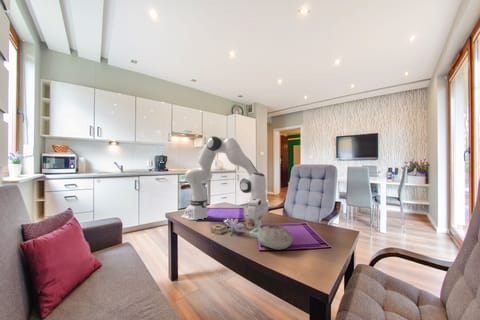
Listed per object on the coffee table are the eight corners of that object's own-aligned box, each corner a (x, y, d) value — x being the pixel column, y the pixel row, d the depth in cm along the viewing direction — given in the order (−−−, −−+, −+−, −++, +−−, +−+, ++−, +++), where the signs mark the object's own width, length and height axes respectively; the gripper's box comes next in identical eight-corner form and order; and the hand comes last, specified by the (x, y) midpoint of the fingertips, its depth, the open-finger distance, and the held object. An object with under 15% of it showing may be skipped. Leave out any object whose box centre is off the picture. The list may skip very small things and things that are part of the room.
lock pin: (255, 233, 116) (255, 216, 117) (258, 231, 120) (257, 215, 120) (260, 234, 115) (260, 217, 115) (263, 232, 118) (263, 216, 118)
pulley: (221, 227, 132) (221, 219, 132) (227, 225, 138) (227, 217, 138) (230, 229, 128) (230, 221, 128) (235, 226, 134) (235, 218, 134)
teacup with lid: (243, 227, 132) (243, 210, 132) (250, 224, 139) (250, 207, 139) (258, 231, 124) (258, 212, 125) (265, 227, 132) (265, 210, 132)
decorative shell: (297, 244, 104) (297, 225, 104) (284, 257, 90) (284, 235, 90) (267, 237, 114) (266, 220, 115) (251, 248, 100) (251, 228, 100)
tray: (249, 236, 116) (249, 232, 116) (255, 231, 123) (255, 227, 123) (263, 239, 111) (263, 235, 111) (269, 234, 119) (269, 230, 119)
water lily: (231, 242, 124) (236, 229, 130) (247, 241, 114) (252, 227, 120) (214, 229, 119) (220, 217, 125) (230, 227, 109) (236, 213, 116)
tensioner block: (210, 232, 124) (210, 227, 124) (217, 228, 130) (217, 224, 130) (219, 234, 120) (219, 229, 120) (226, 230, 126) (226, 226, 126)
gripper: (261, 196, 128) (261, 218, 128) (245, 202, 110) (246, 227, 110) (270, 197, 125) (270, 219, 125) (256, 203, 107) (256, 228, 107)
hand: (259, 223), depth 117 cm, fingers open, 3 cm apart
